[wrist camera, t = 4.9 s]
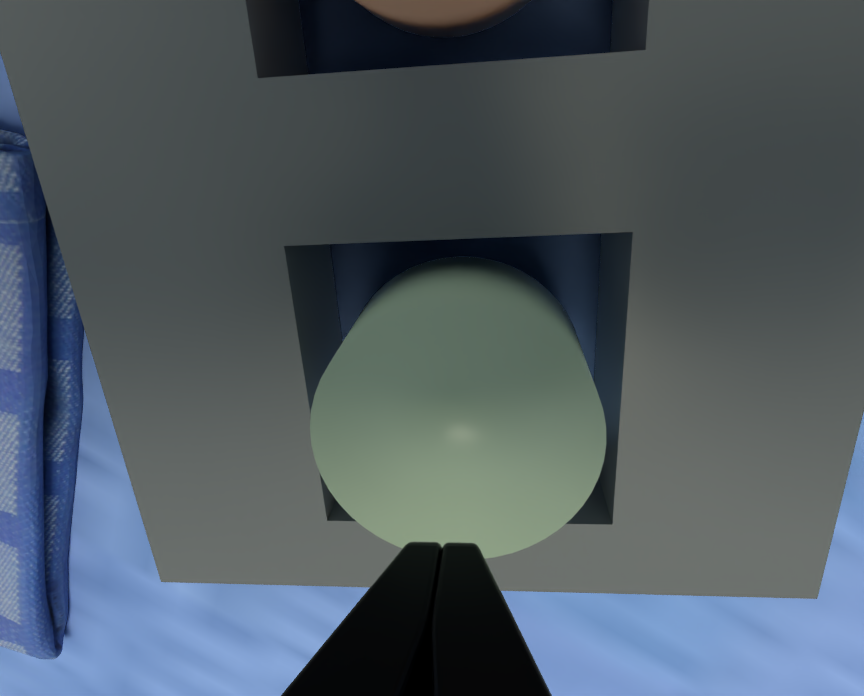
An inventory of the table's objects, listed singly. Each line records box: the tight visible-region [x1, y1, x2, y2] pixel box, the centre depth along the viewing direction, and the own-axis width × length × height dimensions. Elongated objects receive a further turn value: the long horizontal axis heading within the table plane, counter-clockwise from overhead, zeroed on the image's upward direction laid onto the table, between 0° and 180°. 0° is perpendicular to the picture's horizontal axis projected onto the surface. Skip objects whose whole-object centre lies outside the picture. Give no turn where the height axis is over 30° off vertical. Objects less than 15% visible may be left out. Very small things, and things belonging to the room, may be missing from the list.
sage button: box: [310, 256, 606, 559], centre depth 11 cm, size 5×5×3 cm
